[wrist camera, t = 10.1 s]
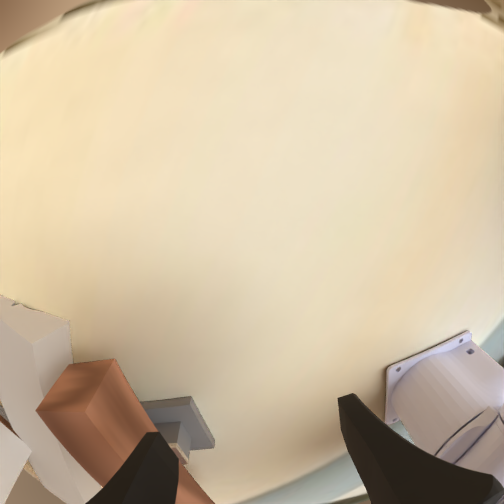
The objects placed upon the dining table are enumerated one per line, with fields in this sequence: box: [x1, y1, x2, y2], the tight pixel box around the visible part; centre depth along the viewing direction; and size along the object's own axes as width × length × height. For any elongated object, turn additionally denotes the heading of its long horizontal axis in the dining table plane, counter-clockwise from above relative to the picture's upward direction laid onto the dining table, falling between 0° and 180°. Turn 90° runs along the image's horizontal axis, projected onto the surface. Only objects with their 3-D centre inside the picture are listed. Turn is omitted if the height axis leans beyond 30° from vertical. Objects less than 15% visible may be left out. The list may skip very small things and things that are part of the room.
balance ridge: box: [140, 397, 215, 464], centre depth 21 cm, size 8×6×4 cm
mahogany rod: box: [35, 359, 215, 504], centre depth 16 cm, size 4×20×5 cm, turn 14°
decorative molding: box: [0, 295, 102, 504], centre depth 23 cm, size 34×5×10 cm
